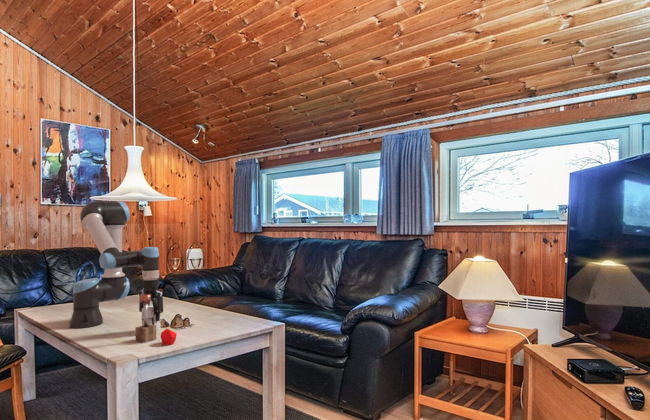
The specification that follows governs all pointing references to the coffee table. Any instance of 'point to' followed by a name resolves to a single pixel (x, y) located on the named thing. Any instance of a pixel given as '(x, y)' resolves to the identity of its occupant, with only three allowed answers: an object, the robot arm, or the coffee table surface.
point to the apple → (168, 337)
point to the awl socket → (145, 333)
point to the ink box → (150, 317)
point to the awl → (145, 306)
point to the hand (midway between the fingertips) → (151, 327)
